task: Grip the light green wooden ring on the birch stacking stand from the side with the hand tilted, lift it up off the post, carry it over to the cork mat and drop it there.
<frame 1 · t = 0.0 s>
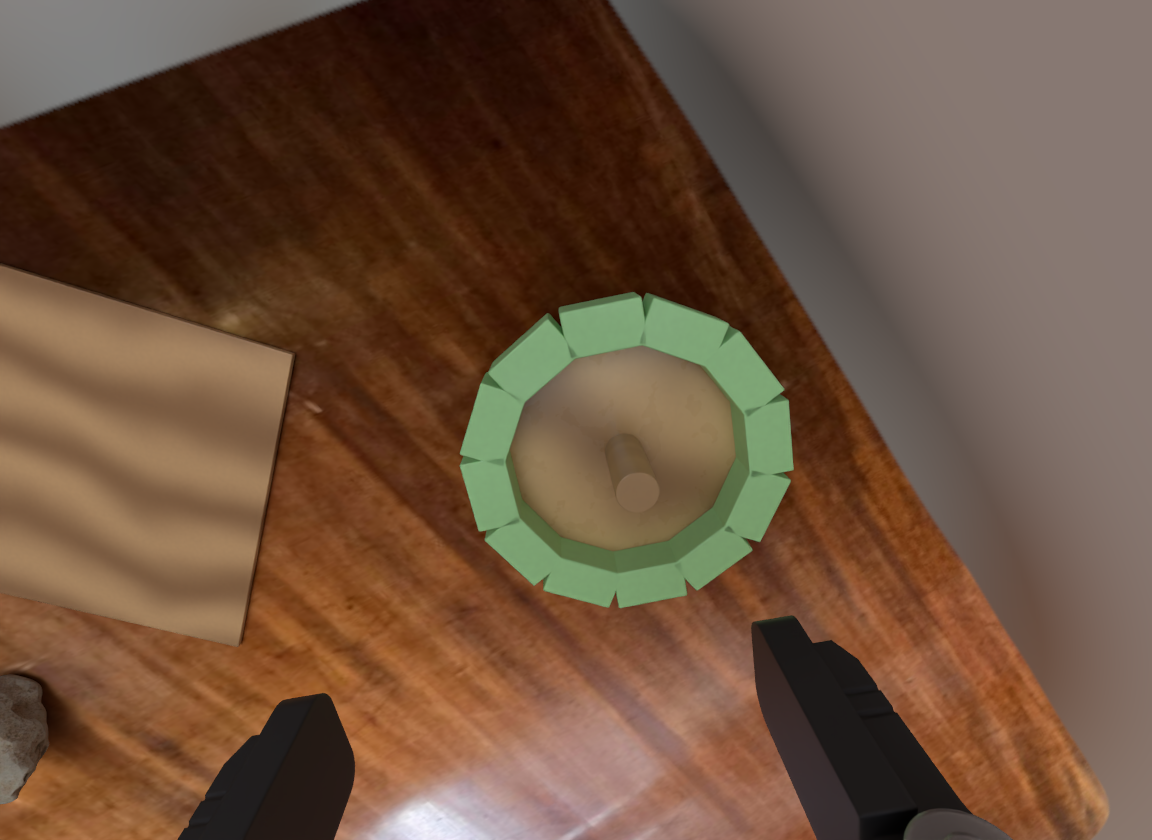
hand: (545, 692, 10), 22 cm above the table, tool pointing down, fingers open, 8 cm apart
mat: (132, 475, 31), on the table
ring: (626, 459, 25), point 6 cm above the table, touching stand
stand: (611, 415, 31), on the table
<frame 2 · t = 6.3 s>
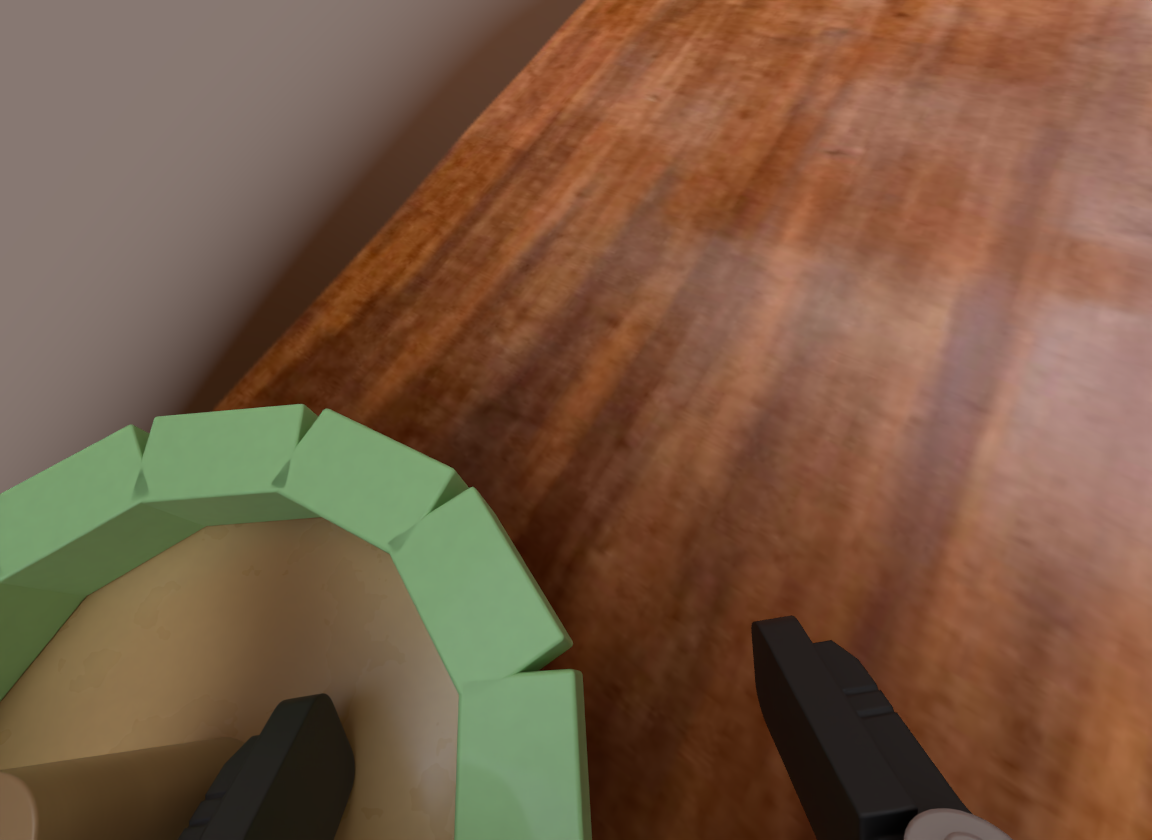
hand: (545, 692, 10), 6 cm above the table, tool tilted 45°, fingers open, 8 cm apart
ring: (175, 801, 10), point 6 cm above the table, touching stand
stand: (343, 754, 16), on the table
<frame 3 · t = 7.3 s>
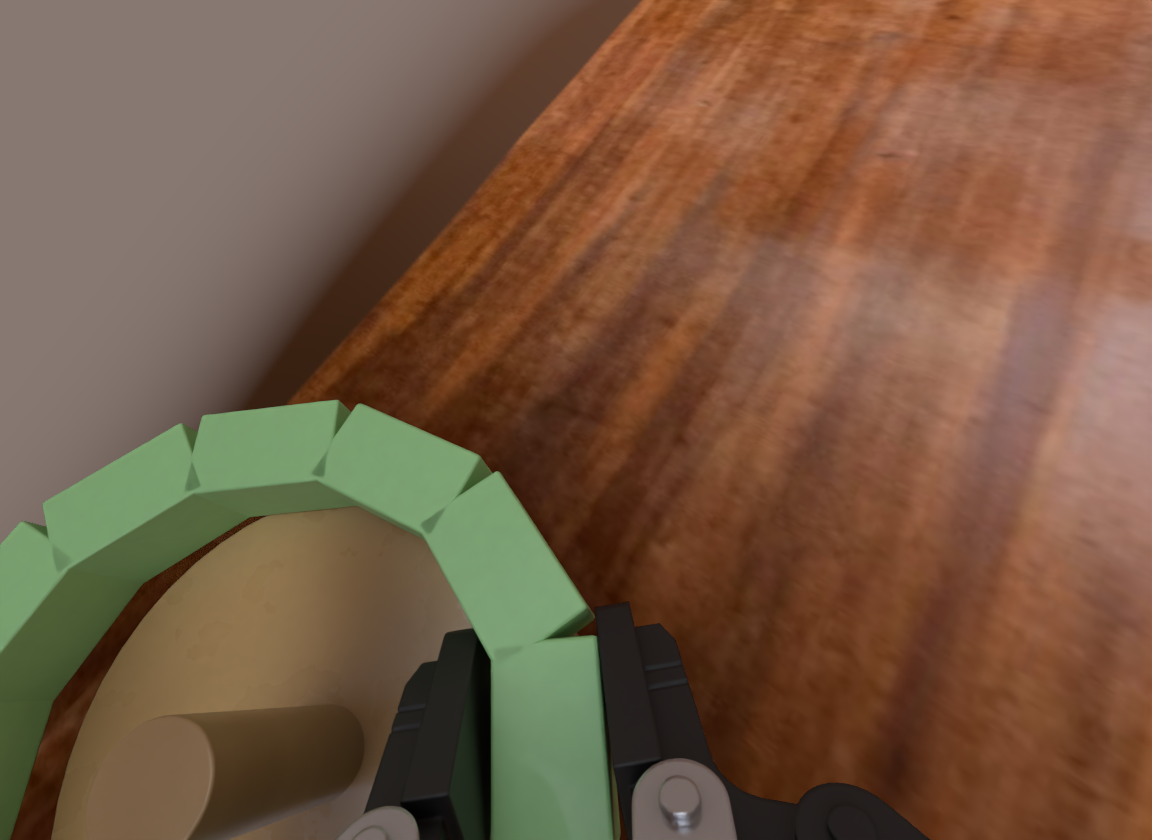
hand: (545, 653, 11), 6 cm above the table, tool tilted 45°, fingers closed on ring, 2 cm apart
ring: (233, 763, 11), point 7 cm above the table, touching gripper, stand
stand: (418, 732, 16), on the table
when the fingers open (1 cm above the table, at t = 17.3 s): ring stays where it is, resting on mat.
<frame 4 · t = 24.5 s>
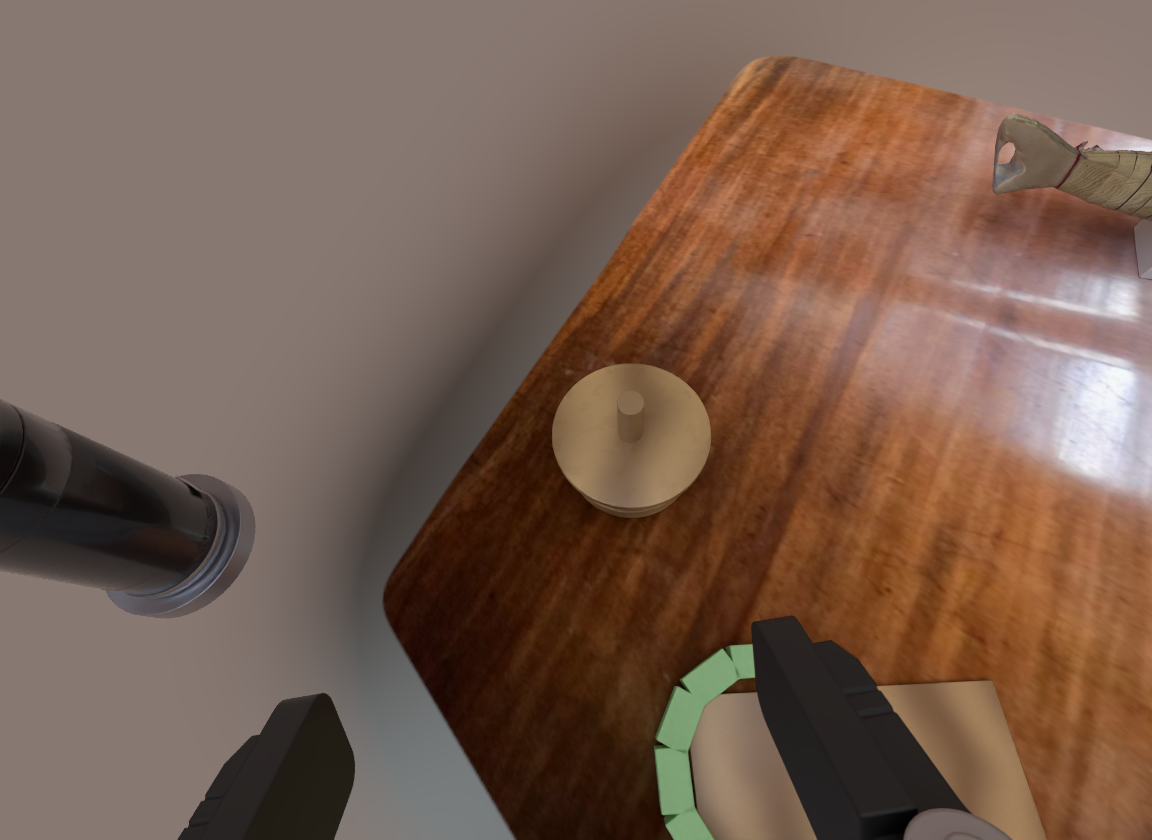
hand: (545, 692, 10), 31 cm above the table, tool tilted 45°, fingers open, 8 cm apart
mat: (864, 825, 33), on the table
wood carving: (1145, 255, 49), on the table
ring: (776, 772, 34), point 1 cm above the table, touching mat
stand: (630, 458, 45), on the table
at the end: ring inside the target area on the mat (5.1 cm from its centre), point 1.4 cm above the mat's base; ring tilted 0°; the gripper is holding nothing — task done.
